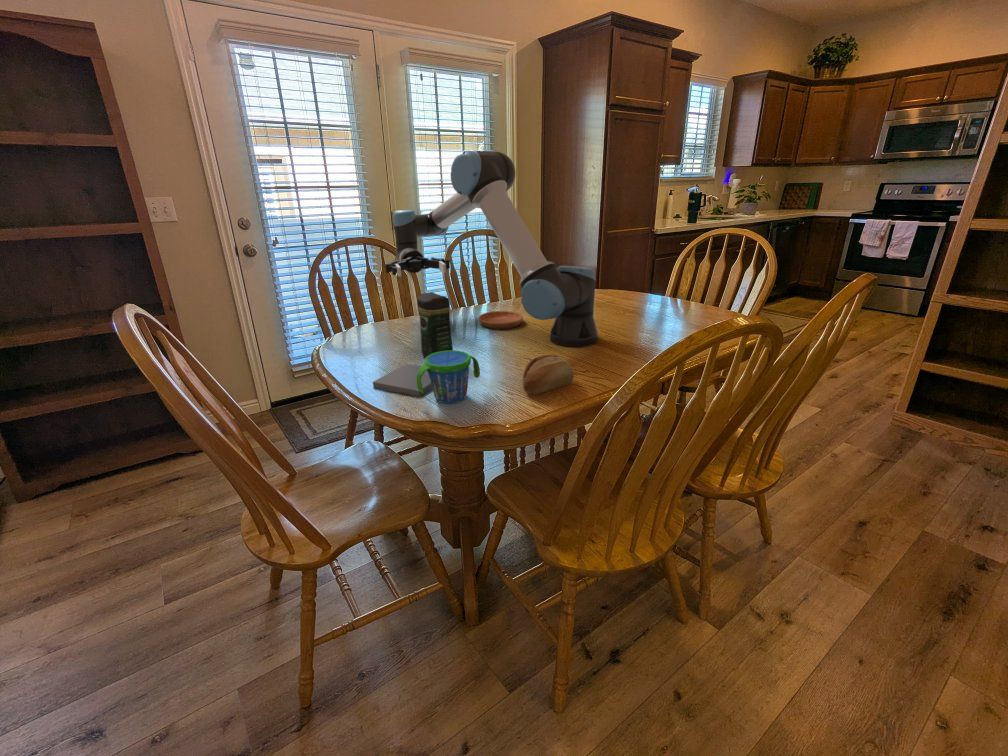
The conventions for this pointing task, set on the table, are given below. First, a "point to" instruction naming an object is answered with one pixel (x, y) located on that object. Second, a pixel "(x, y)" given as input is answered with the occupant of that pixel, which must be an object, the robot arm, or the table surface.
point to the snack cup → (448, 374)
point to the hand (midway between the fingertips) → (422, 270)
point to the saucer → (501, 319)
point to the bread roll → (546, 374)
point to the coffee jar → (434, 323)
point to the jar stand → (404, 381)
